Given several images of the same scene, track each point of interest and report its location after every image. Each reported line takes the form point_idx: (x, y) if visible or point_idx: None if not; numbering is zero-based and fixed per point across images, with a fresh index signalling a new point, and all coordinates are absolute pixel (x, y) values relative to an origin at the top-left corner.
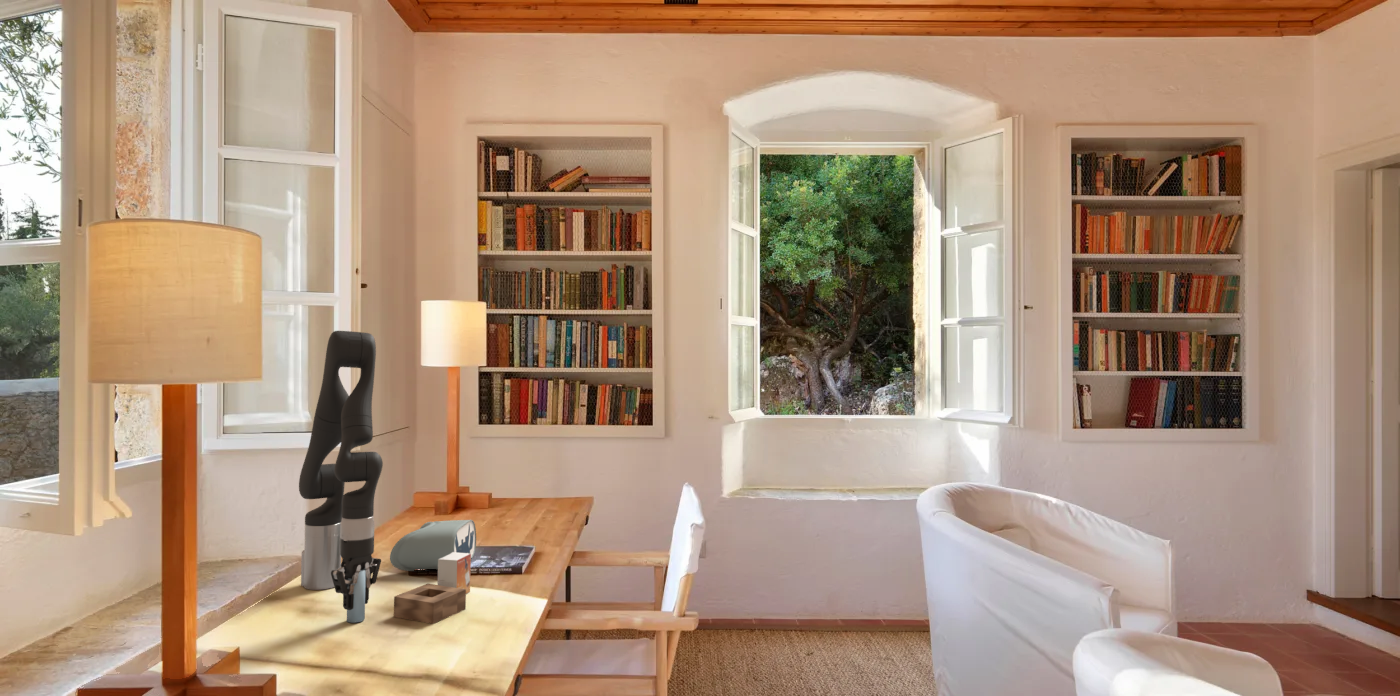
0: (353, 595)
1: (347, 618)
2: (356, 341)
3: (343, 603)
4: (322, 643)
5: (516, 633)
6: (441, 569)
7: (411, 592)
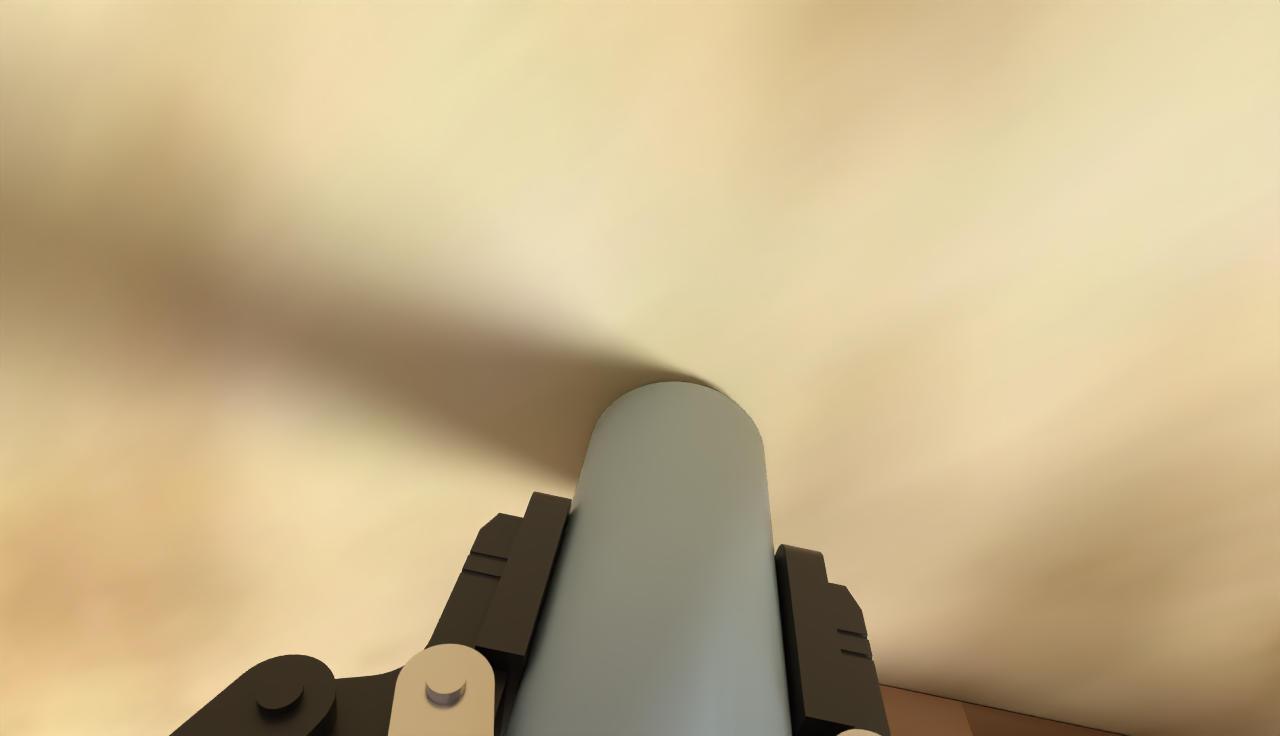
0: None
1: (596, 434)
2: None
3: (471, 555)
4: (119, 479)
5: None
6: None
7: None
